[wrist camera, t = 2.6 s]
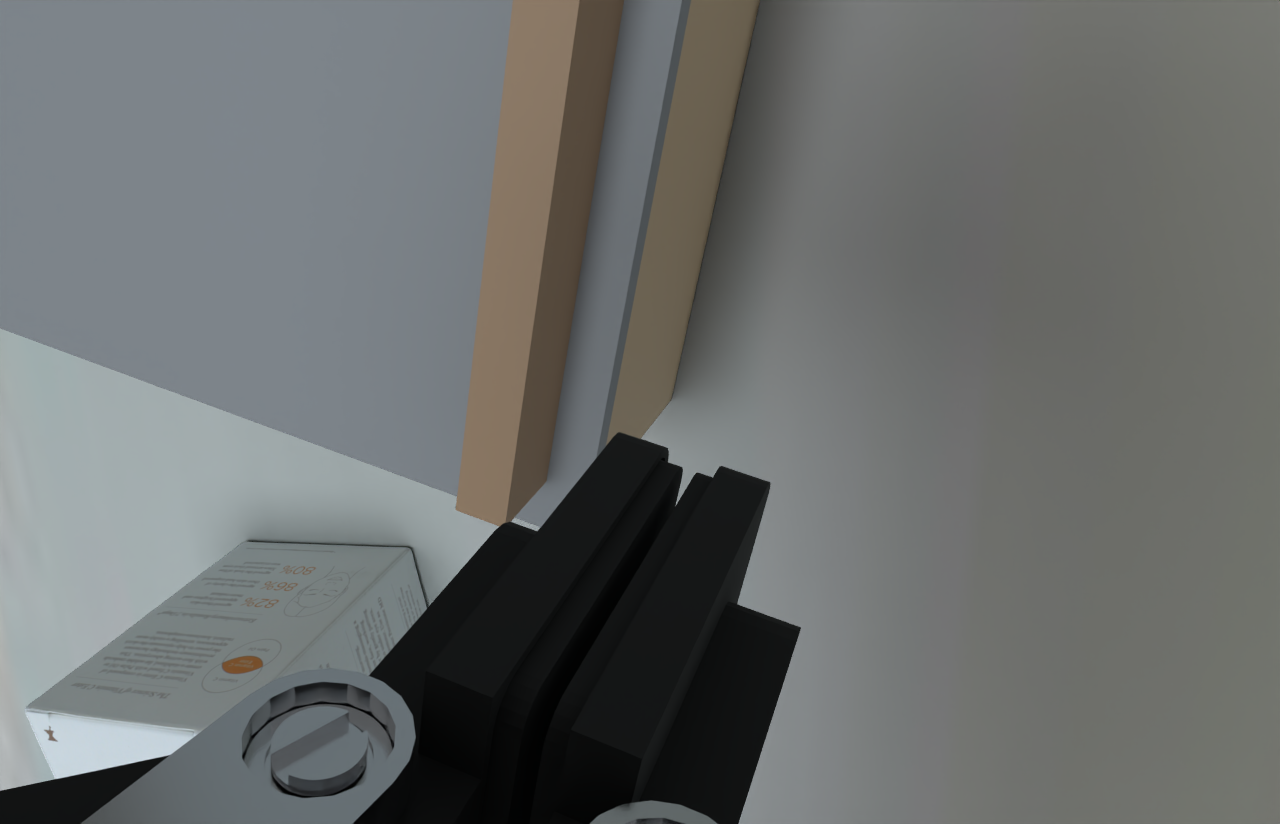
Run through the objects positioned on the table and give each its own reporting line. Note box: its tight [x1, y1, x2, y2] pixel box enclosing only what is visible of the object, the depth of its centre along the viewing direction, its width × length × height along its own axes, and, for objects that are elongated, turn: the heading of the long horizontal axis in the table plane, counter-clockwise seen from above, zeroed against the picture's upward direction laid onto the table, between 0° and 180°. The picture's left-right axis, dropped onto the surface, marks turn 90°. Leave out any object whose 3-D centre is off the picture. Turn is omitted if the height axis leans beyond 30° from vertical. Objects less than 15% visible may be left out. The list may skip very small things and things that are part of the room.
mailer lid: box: [0, 0, 691, 527], centre depth 22 cm, size 19×15×3 cm
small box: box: [25, 542, 427, 779], centre depth 35 cm, size 8×6×10 cm
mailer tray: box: [606, 0, 760, 445], centre depth 26 cm, size 18×14×7 cm
